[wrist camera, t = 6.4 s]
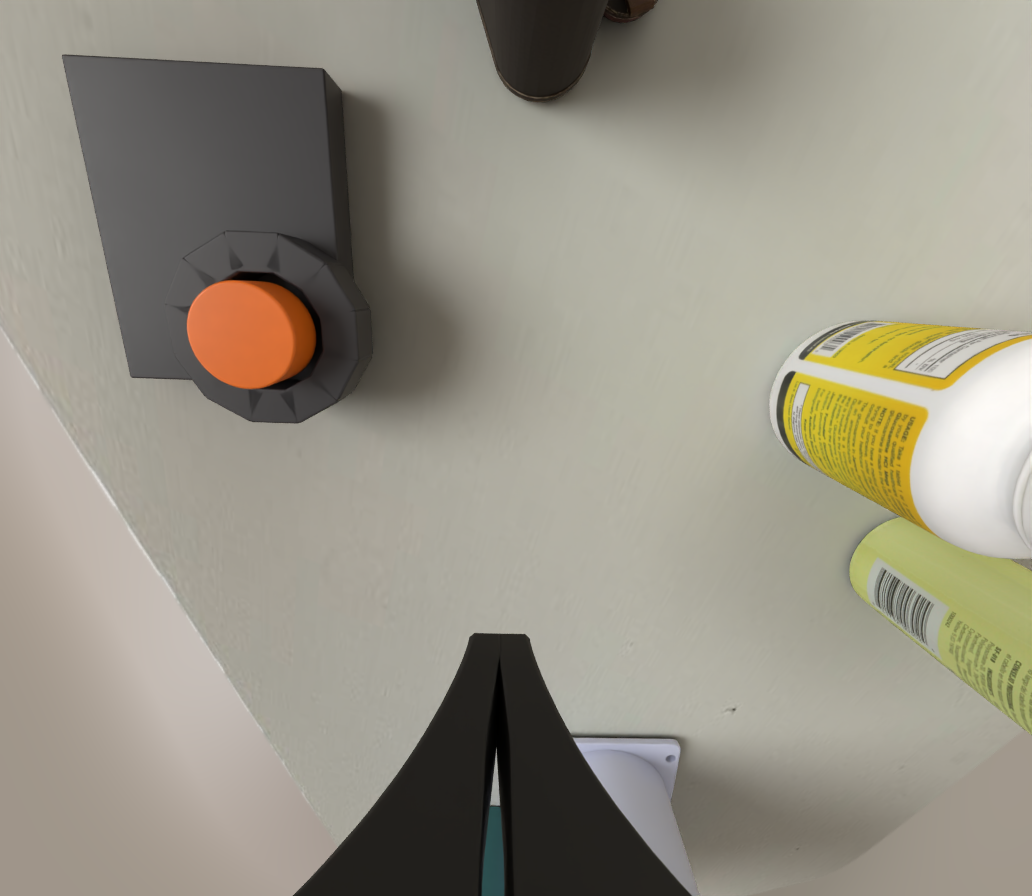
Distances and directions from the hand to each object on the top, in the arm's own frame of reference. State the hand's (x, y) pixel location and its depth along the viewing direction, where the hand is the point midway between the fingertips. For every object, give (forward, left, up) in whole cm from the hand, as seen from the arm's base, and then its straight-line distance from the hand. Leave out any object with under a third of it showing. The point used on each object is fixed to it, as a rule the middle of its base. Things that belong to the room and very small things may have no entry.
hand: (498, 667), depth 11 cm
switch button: (+7, +8, -7) cm, 13 cm away
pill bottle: (+5, -14, -11) cm, 18 cm away
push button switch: (+10, +10, -10) cm, 18 cm away
